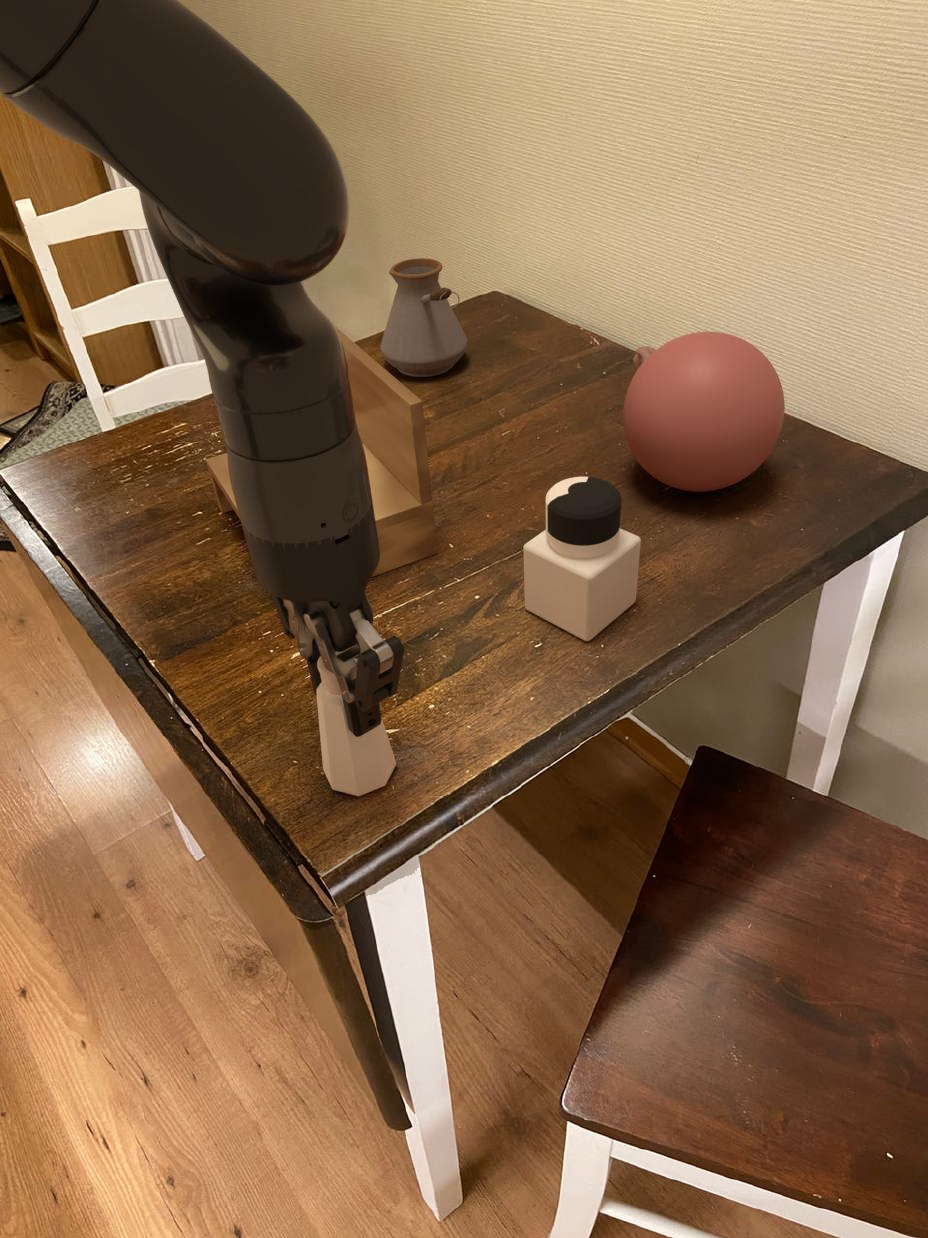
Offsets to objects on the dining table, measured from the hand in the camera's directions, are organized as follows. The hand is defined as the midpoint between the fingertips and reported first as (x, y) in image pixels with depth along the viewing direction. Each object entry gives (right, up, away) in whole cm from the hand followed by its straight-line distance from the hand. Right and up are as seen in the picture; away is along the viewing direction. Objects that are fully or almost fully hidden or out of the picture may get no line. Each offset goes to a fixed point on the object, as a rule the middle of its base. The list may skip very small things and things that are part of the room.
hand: (348, 709), depth 61 cm
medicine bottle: (+18, +7, +17) cm, 26 cm away
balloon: (+31, +22, +33) cm, 51 cm away
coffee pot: (+4, +37, +53) cm, 65 cm away
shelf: (-6, +15, +29) cm, 33 cm away
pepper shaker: (0, -5, +4) cm, 6 cm away
